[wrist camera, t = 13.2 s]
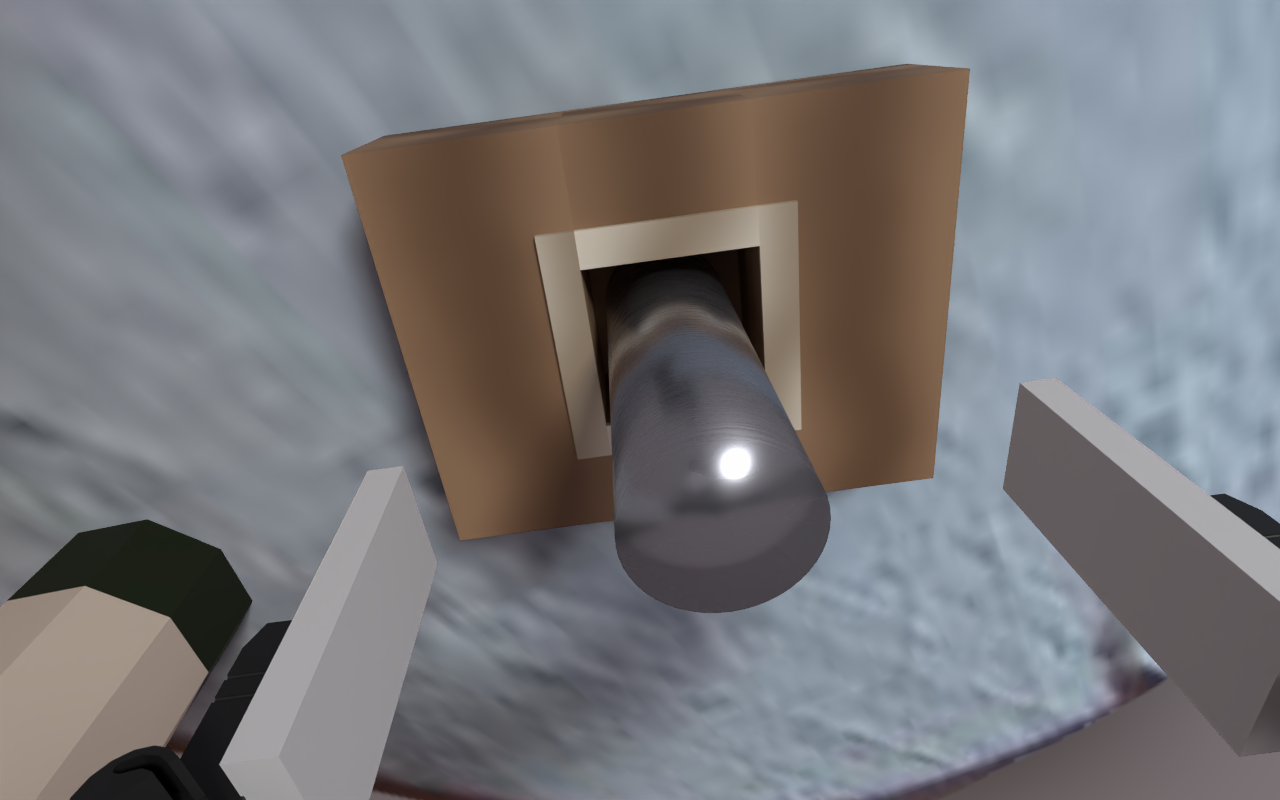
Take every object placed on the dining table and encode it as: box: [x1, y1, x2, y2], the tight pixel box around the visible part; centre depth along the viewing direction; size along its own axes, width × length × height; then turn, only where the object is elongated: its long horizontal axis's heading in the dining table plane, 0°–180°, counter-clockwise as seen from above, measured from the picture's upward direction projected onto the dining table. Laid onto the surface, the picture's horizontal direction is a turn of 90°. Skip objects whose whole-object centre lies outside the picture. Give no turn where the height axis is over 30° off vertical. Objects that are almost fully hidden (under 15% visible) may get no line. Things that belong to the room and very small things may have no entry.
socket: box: [341, 64, 970, 541], centre depth 25 cm, size 18×14×5 cm
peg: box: [606, 254, 831, 613], centre depth 20 cm, size 4×4×14 cm
